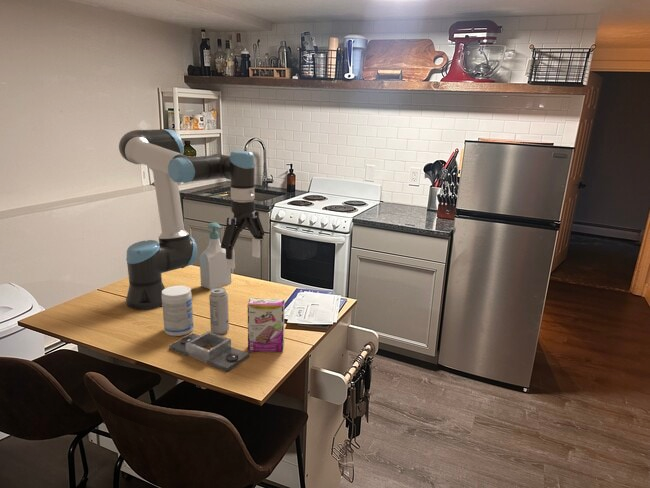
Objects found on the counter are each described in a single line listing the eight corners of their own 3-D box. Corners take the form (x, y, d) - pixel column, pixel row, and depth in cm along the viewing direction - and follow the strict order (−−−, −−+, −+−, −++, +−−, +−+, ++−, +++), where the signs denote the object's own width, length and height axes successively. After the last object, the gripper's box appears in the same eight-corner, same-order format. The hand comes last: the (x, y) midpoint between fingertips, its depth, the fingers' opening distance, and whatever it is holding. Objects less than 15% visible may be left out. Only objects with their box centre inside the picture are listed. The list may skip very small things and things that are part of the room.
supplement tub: (195, 334, 156) (193, 293, 152) (166, 339, 152) (163, 297, 148) (191, 322, 165) (188, 283, 161) (162, 326, 161) (159, 287, 157)
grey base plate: (169, 349, 147) (168, 337, 145) (192, 336, 155) (192, 325, 154) (227, 371, 135) (226, 359, 134) (249, 356, 143) (249, 345, 142)
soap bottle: (212, 291, 192) (209, 227, 184) (200, 286, 197) (197, 223, 190) (234, 284, 200) (232, 222, 192) (222, 279, 205) (219, 219, 198)
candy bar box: (247, 352, 146) (246, 304, 141) (249, 344, 151) (248, 297, 146) (283, 353, 146) (283, 304, 141) (284, 345, 151) (284, 298, 146)
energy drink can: (231, 333, 158) (230, 292, 153) (214, 337, 155) (212, 295, 150) (225, 326, 163) (224, 286, 158) (208, 329, 160) (206, 289, 155)
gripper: (226, 208, 138) (228, 275, 145) (274, 195, 160) (274, 254, 166) (207, 204, 142) (210, 270, 148) (256, 193, 163) (257, 250, 169)
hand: (244, 262), depth 157 cm, fingers open, 13 cm apart
